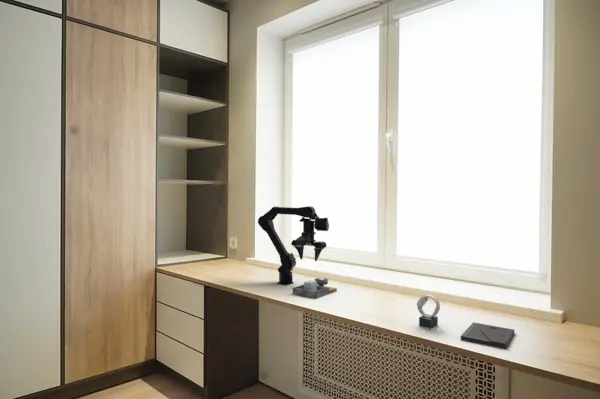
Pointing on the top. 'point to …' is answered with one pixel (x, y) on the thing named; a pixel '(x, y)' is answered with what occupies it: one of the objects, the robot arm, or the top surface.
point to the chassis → (319, 293)
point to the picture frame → (488, 335)
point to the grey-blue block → (310, 285)
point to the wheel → (321, 281)
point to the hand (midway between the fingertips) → (308, 260)
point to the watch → (426, 319)
